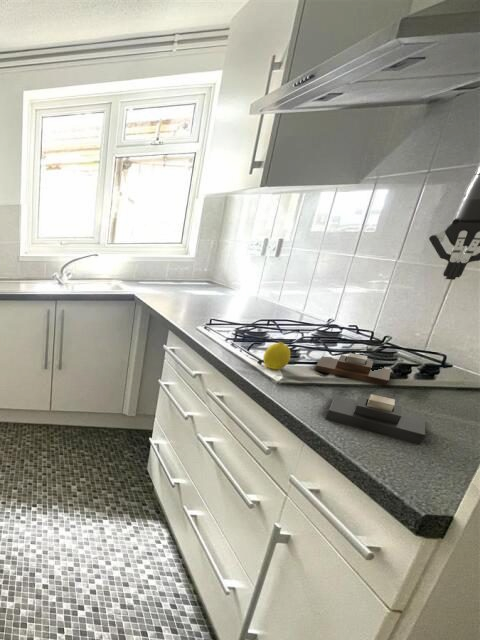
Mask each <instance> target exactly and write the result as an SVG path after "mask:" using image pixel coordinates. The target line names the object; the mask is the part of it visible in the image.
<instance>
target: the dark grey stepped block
mask: <svg viewBox="0 0 480 640" xmlns="http://www.w3.org/2000/svg"><path fill="white" fill-rule="evenodd" d="M369 398H370V397H367V396H363V395H359V397H358V399H351V398H347V397H343V396H340V395H334V397H333V399H332V402H331V404H330V406H329V409H328V411H327V413H326V416H325V419H324V420H327V421H330V422H334V423H337V424H342V425H344V426H348V427H352V428H356V429H359V430H363V431H367V432H371V433H374V434H378V435H380V436H385V437H388V438H393V439H396V440H400V441H403V442H406V443H411V444H415V445H419V446H421V445H422V442H423V441H424V438H425V437H426V416H423V415H418V414H414V413H410V412H406V411H403V405H401V404H397V403H395V404H394V407H393V409H392V412H390V411H386V410H382V409H378V408H374V407H370V406H367V403H368V400H369Z"/></svg>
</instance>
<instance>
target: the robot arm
mask: <svg viewBox="0 0 480 640" xmlns="http://www.w3.org/2000/svg"><path fill="white" fill-rule="evenodd" d="M461 197H462V198H461V199H460V202H459V204H458V206H457V208H456V210H455V213H454V215H453V217H452V219H451V222H450V223H449V224H447V226H446V227H445V228H444V230H442V231H440V232H438V233H436V234H431V235H430V236H429V237H428V240H429V242H430V243H431V245H432V247H433V249H434V250H435V252H436V253H437V255H438V257H439V258H440V259H441V260H445V261H446V262H447V264H446V266H445V269H444V271H443V274H442V275H443V277H445V280H454V281H455V280H456V278H460V277H461V276H462V275H463V273H464V271H465V268H466V266H467V265H468V264H469V263H472V262H479V261H480V252H478V253H477V254H474V253H475V251H476V249H477V248H478V247H480V162H479V163H478V164H477V167H476V169H475V172H474V174H473V176H472V178H471V180H470V181H469V183H468V184H467V186H466V189H465V190H464V192H463V194H462V196H461ZM445 236H446V238H447V239H448V241H449V243H450V245H452V246H453V247H452V250H451V253H447V251H446V250H445V247H444V246H443V245H442V242H443V241H444V240H445ZM463 247H466V248H465V249H464V252H463V253H462V255H461V256H460V254H461V252H462V249H463ZM473 254H474V255H473ZM459 258H460V259H459ZM458 260H459V261H458Z"/></svg>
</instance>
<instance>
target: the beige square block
mask: <svg viewBox="0 0 480 640" xmlns="http://www.w3.org/2000/svg"><path fill="white" fill-rule="evenodd" d="M347 356H348V357H347V359H346V361H347V362H352V363H358V364H363V365H364V364H365V362H366V360H368V355H363V354H358V353H352V352H349V353H348V355H347Z"/></svg>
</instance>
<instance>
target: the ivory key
mask: <svg viewBox="0 0 480 640" xmlns="http://www.w3.org/2000/svg"><path fill="white" fill-rule="evenodd" d="M368 398H369V400H368V403H367V406H370V407H374V408H378V409H382V410H386V411H390V412H392V409H393V407H394V404H396V399H394V398H389V397H385V396H381V395H377V394H372V393H371V394H370V395H369V397H368Z"/></svg>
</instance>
